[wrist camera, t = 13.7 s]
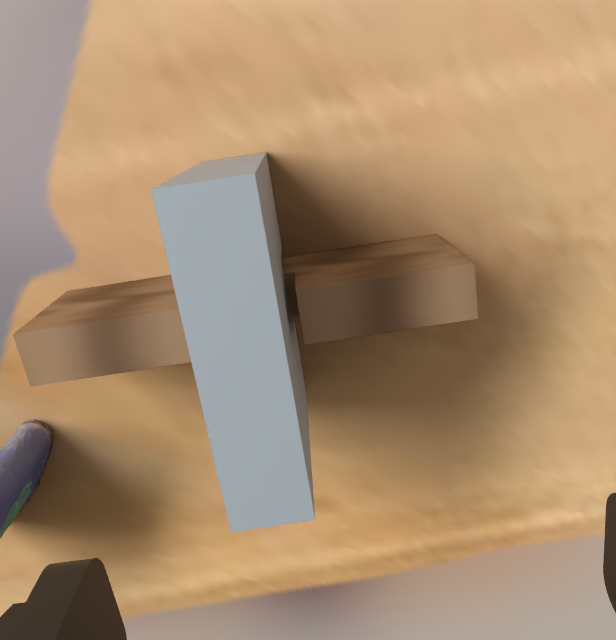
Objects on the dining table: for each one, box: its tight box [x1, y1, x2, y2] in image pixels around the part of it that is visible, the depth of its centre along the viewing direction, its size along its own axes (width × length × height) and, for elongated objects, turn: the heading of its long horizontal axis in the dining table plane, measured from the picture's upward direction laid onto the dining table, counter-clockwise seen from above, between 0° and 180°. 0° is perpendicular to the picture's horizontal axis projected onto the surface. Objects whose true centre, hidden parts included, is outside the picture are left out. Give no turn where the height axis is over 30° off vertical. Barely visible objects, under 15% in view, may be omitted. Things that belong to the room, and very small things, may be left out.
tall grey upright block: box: [151, 152, 315, 532], centre depth 32 cm, size 4×16×14 cm, turn 9°
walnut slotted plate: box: [13, 234, 478, 386], centre depth 35 cm, size 24×3×8 cm, turn 99°
